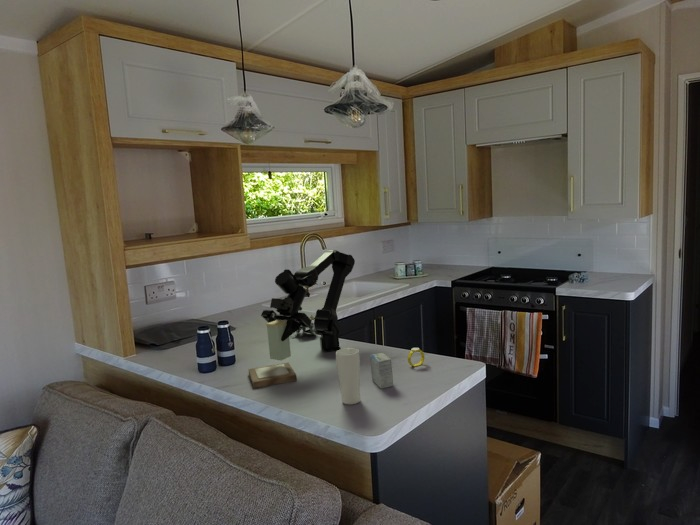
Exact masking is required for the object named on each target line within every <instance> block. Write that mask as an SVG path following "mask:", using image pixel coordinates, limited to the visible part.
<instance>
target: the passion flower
mask: <svg viewBox="0 0 700 525" xmlns="http://www.w3.org/2000/svg"><path fill="white" fill-rule="evenodd" d="M309 318H310V319H311V325H310V327H309V328H308V329H309V332H310V333H311V335H313V336H316V335H317V333H316V332H315V331H316V329H315V326H314V322H313V321H314V320H315V319H314V318H315V316H314V315H312V314H311V315H309ZM301 327H302V328H301V329H299V330H297V331H296V332H295V337H297V336H298V335H299V333H300V331H301V330H302V333H305V332H306V331H307V329H306V327H303V326H302V325H301Z"/></svg>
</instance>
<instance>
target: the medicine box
mask: <svg viewBox="0 0 700 525" xmlns="http://www.w3.org/2000/svg"><path fill="white" fill-rule="evenodd" d="M369 356H370V358H369V359H370V369H371V371H370V372H371V380H372V382H374V384H375V385H377V387H379V388H380V389H386V388H390V387H393V386H394V375H393V364H392V362H393V361H392V359H391V358H390V357H389V356H387V355H386V354H384V353H383V352H378V353H373V354H370V355H369Z"/></svg>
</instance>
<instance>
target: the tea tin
mask: <svg viewBox="0 0 700 525" xmlns="http://www.w3.org/2000/svg"><path fill="white" fill-rule="evenodd" d="M265 326H266V329H267V339H268V350H269V359H271V360H277V361H283V360H286V359H287V358H290V357H292V355H291V354H292V353H291V342H290V336H289V337H288V338H287V339H286V340H284V341H282V340H281V338H282V335H283V333H284V330H285V328H286V326H287V321H283V320H275V321H273V322H270V323H268V322H267V323H266V324H265Z"/></svg>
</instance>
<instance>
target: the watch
mask: <svg viewBox="0 0 700 525" xmlns="http://www.w3.org/2000/svg"><path fill="white" fill-rule="evenodd" d="M418 352H420V355H421V358H420V360H419V362H418V363H416V364H413V362H412V356H413V354H414V353H418ZM425 359H426V358H425V353H424V351H423V350H421V349H420V348H419V347H412V348H411V349H410V352H409V353H408V356H407V362H408V364H409V365H410V366H411V367H414V368H416V367H419V366H422V365H423V363H424V361H425Z"/></svg>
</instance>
